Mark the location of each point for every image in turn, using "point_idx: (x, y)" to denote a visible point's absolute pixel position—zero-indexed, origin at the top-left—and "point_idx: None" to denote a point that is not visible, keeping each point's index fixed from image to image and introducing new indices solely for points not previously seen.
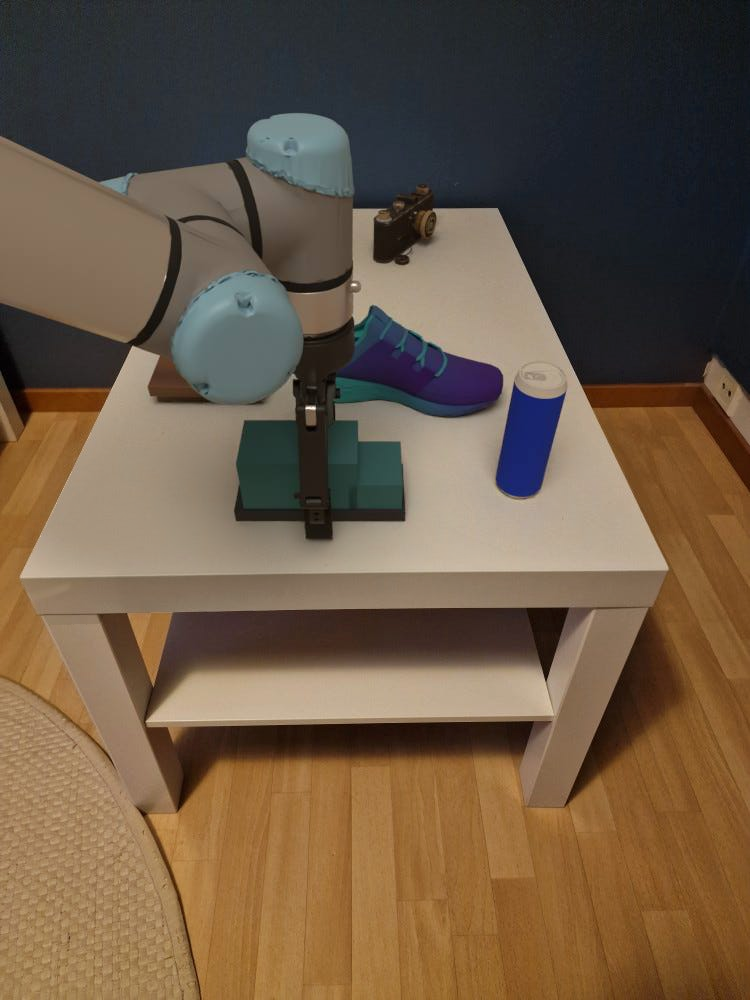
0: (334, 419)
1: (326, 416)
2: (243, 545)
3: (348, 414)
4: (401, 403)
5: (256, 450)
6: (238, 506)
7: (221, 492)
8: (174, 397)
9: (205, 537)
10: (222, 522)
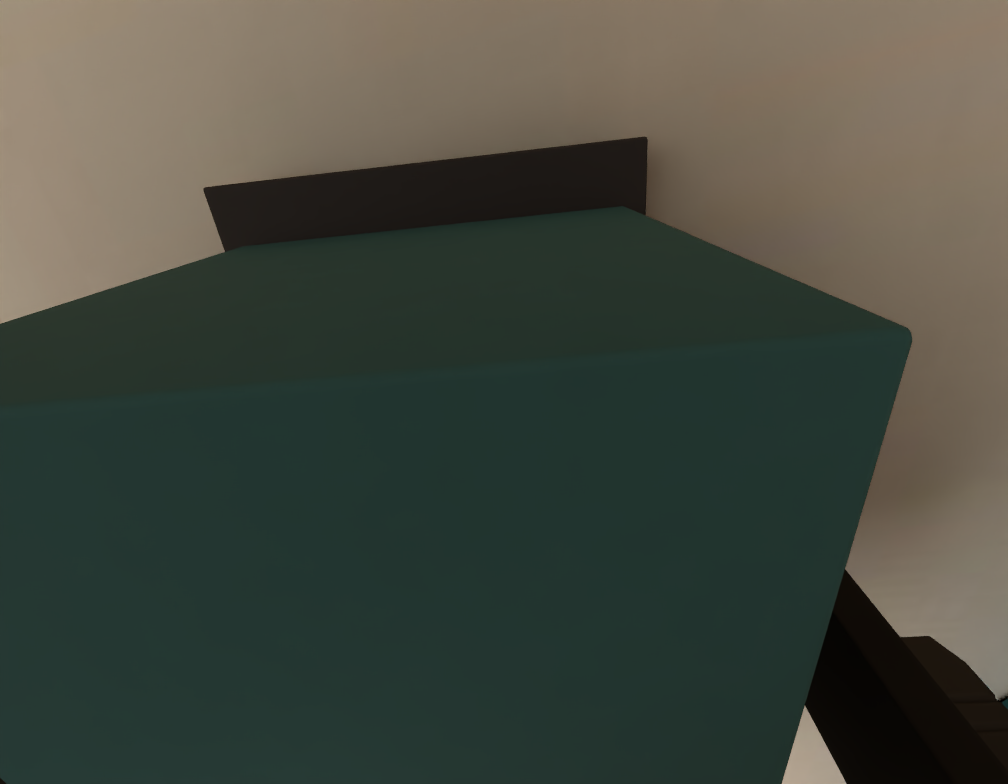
0: (846, 778)
1: (875, 779)
2: (117, 262)
3: (1003, 559)
4: (1001, 702)
5: (123, 637)
6: (251, 207)
7: (446, 21)
8: None
9: (68, 21)
10: (214, 103)
